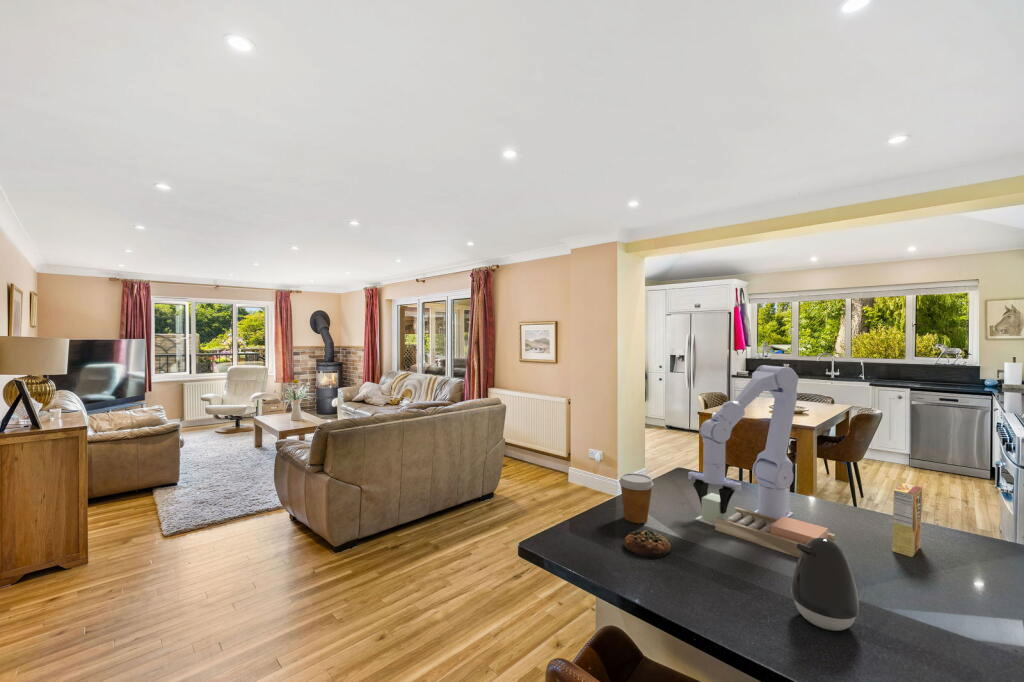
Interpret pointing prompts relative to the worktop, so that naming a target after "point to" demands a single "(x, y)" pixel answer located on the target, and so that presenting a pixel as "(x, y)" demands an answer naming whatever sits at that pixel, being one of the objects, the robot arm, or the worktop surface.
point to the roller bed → (756, 530)
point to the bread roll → (647, 544)
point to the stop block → (712, 508)
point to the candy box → (907, 519)
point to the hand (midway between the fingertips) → (713, 509)
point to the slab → (798, 530)
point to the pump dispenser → (825, 586)
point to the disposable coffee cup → (636, 496)
